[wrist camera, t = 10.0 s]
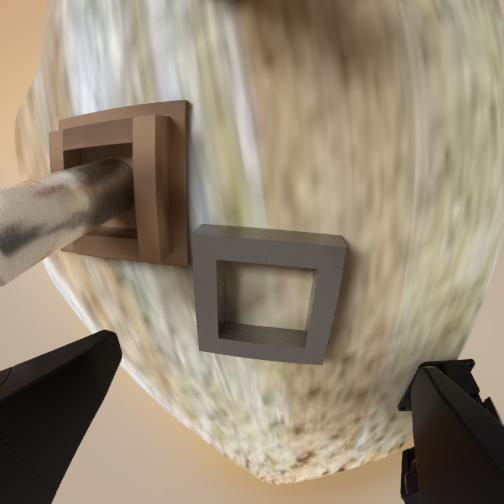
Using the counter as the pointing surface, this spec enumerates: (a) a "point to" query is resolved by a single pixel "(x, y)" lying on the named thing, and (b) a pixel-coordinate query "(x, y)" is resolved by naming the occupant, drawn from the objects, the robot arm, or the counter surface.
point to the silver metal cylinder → (59, 211)
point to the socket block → (271, 253)
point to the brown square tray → (145, 178)
